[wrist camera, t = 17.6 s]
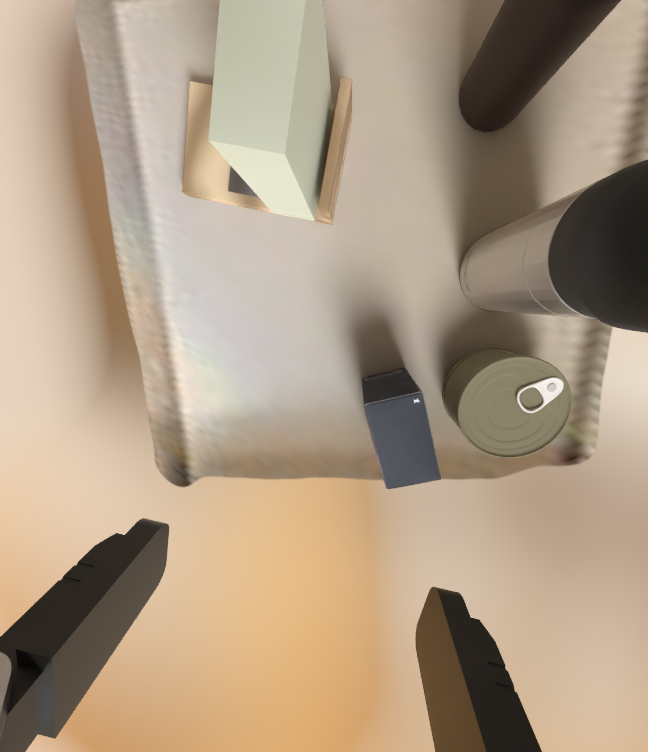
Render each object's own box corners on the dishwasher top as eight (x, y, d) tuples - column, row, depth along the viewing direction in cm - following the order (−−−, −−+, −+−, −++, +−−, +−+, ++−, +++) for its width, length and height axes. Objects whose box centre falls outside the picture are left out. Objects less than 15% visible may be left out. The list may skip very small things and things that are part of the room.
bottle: (460, 140, 34) (605, -70, 15) (455, 67, 33) (611, -274, 13) (525, 125, 33) (769, -118, 14) (523, 49, 32) (795, -341, 12)
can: (423, 380, 41) (437, 396, 34) (506, 327, 38) (539, 333, 32) (469, 448, 43) (491, 476, 36) (552, 402, 40) (592, 422, 34)
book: (332, 111, 33) (316, -76, 17) (314, 220, 36) (284, 154, 19) (287, 103, 33) (226, -90, 17) (273, 213, 36) (208, 140, 20)
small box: (358, 378, 42) (360, 403, 31) (406, 366, 41) (424, 388, 31) (376, 447, 44) (384, 492, 34) (422, 437, 43) (444, 480, 33)
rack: (351, 119, 34) (351, 78, 28) (331, 224, 37) (328, 209, 31) (196, 90, 35) (163, 44, 29) (188, 196, 38) (156, 175, 31)
